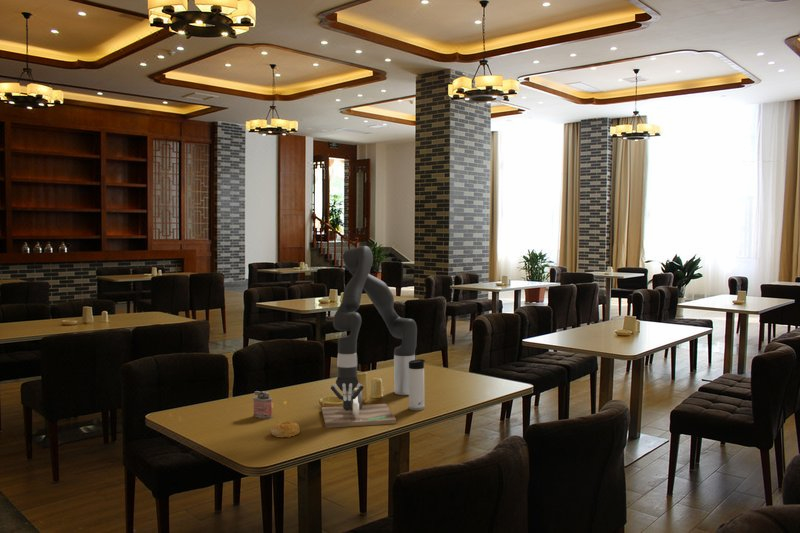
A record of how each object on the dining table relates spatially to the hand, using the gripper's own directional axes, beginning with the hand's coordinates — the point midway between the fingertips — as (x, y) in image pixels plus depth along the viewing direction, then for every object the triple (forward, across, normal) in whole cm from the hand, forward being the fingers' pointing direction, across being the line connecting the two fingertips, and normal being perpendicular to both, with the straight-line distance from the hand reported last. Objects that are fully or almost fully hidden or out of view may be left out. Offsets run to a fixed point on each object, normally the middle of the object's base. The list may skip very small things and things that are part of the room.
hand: (347, 409), depth 247 cm
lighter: (+5, -32, +10) cm, 34 cm away
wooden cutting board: (+4, +4, +4) cm, 7 cm away
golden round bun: (+5, -22, -13) cm, 26 cm away
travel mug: (+4, +29, +13) cm, 32 cm away
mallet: (+2, +4, +5) cm, 6 cm away
